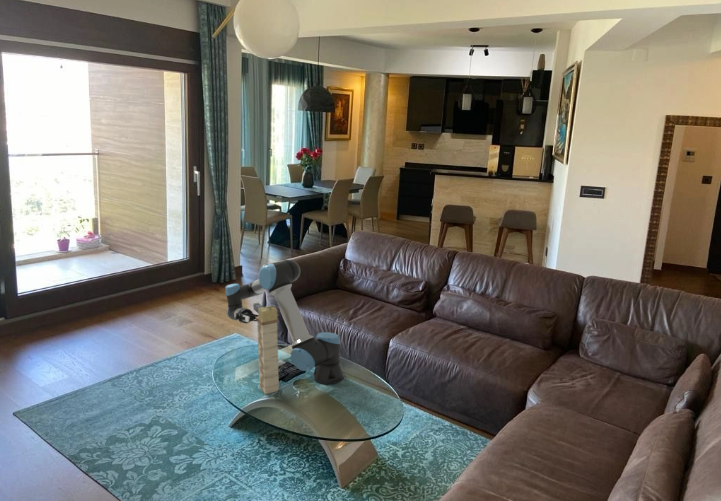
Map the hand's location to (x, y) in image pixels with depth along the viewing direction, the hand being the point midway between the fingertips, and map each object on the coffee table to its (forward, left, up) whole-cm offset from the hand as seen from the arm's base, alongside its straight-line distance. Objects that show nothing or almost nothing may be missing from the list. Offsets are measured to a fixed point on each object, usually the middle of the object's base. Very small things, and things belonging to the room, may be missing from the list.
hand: (261, 320), depth 270 cm
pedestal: (-12, +10, -29) cm, 33 cm away
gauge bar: (-7, +8, +7) cm, 13 cm away
